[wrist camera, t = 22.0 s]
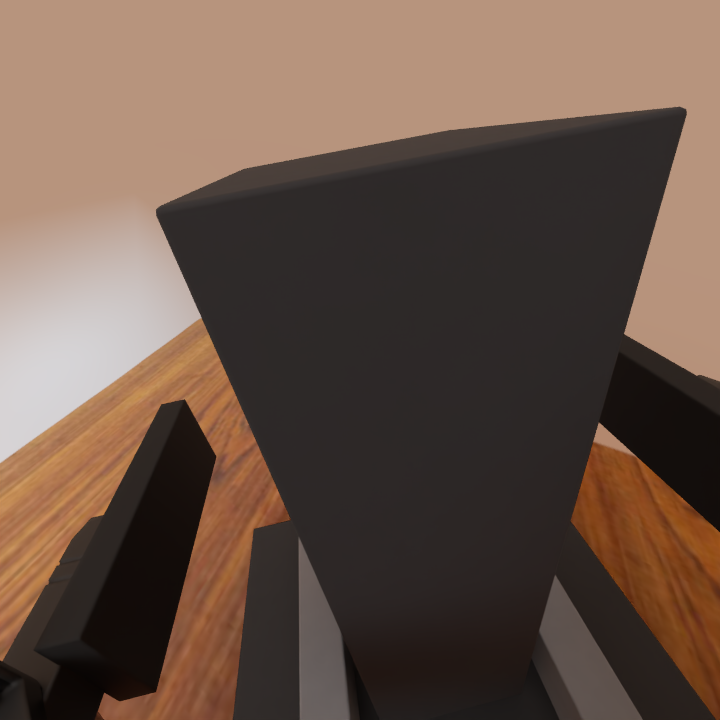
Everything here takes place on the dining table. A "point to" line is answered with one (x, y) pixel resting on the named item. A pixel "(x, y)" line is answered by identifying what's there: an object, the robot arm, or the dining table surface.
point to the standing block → (431, 370)
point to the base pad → (504, 716)
